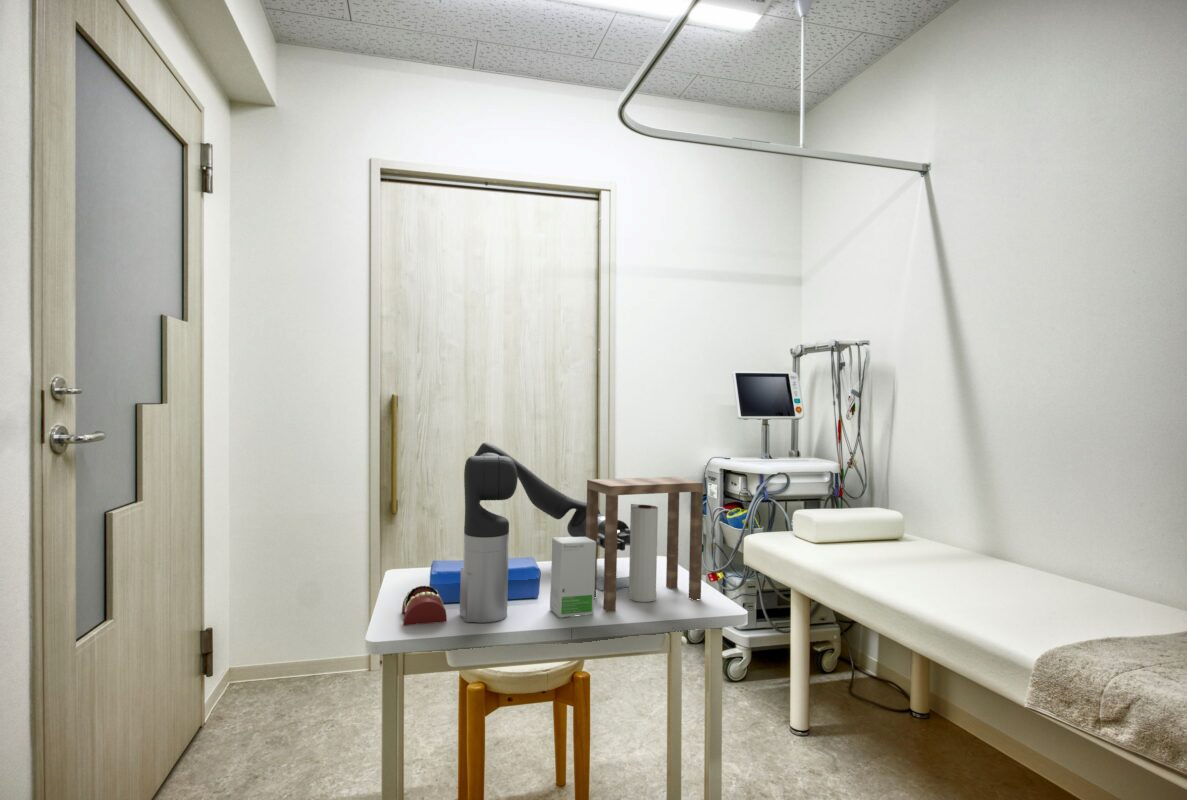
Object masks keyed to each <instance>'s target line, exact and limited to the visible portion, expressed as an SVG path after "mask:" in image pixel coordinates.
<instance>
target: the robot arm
mask: <svg viewBox="0 0 1187 800" xmlns="http://www.w3.org/2000/svg"><path fill="white" fill-rule="evenodd" d="M463 472H464V473H463V477H464V478H463V483H464V488H463V489H464V527H463V529H464V530H463V536H464V537H463V564H462V565H463V566H462V567H461V569H460V585H459V586H460V588H459V614H460V616H461V618H462V619H463V620H464V621H465V622H466V623H482V624H483V623H493V622H497V621H498V622H499V621H501V620H503V619H505V618H506V617H507V616H508V587H509V586H508V584H509V583H508V582H509V551H510V550H509V548H510V547H509V544H510V538H509V537H510V533H509V532H510V522H509V520H508V518H506V517H504V516H502V515H500V514H495V513H494V512H491V511H489V510H487V509H486V508H484V507H483V506H482V505H481V501H505V500H509V499H510V498H512V497H513V496H514V495H515V492H516V489H517V486H518V480H519V482H520V483H521V486H522V487H523V490H524V492H525V493H526V496H527V498H528V499H529V501H530V502H531V504H532V505H533V506H534V507H535V508H537V509H539V510H540V511H541V512H544V513H545V514H547V515H548V516H550V517H551V518H553V519H555V520H561V519H563V518H564V517H565V516H566V515H567V514H568V512H570V510H574V509H575V511H574V513H573V515H572V517H571V518H570V520H569V521H568V524H567V532H568V535H570V537H586V511H587V502H585V501H580V500H577V499H574V498H572V497H569V496H567V495H566V494H563V493H562V492H561V491H558V489H555V488H554V487H553V486H551V485H550V484H548V483H546V482H545V481H544V480H542V479H541V478H539V477H538V476H537V475H536V474H535V473H533V472H532V471H531V470H530V469H528V468H527V467H526V466H524V465H523V464H522V463H520V462H519V460H517V459H516V458H514V457H513V456H511V455H510V454H508V453H507V452H505V451H504V450H503V449H502V448H501V447H500V448H499V447H498V446H496V445H494V444H492V443H490V442H483V443H481V444H480V445H479V447H478V449H477V450H476V452H475V453H474V455H473V456H472V455H471V456H469V457H468V458H467V459H466V461H465V464H464V471H463ZM597 546H598V547H600V548H603V549H605V514H604V515H603V514H601V511H600V509H599V508H598V533H597ZM626 546H628V547H630V526H628V524H627V523H626V522H624V521H623V520H620V519H618V527H617V551H618V550H620V551H622V552H623V551H625V550H626Z"/></svg>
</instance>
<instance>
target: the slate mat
mask: <svg viewBox="0 0 1187 800" xmlns="http://www.w3.org/2000/svg"><path fill="white" fill-rule="evenodd" d="M626 588H627V589H629V576H622V577H616V591H617V589H618V590H626ZM597 589H598V590H597ZM596 590H597V591H599V592H600V591H601V592H604V578H603V579H596Z"/></svg>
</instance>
